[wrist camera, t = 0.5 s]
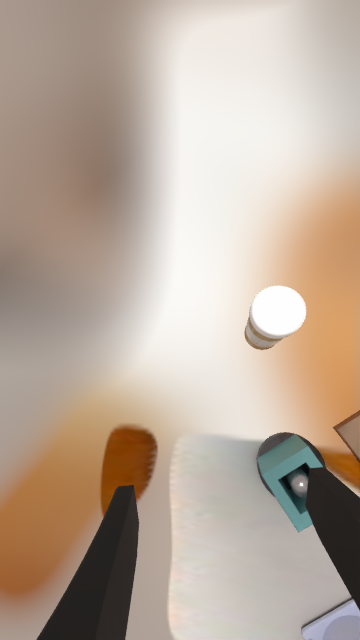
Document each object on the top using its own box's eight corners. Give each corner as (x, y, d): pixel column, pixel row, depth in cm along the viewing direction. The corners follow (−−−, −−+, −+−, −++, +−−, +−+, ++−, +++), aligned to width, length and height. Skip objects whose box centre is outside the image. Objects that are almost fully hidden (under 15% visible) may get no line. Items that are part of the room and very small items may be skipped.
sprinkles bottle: (285, 332, 32) (320, 306, 20) (263, 357, 32) (283, 347, 20) (258, 311, 34) (274, 273, 21) (236, 335, 34) (239, 312, 21)
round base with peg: (339, 480, 28) (363, 505, 22) (283, 514, 28) (295, 547, 23) (295, 420, 30) (308, 430, 25) (244, 452, 30) (247, 469, 25)
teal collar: (328, 479, 27) (348, 501, 23) (286, 504, 28) (298, 532, 23) (295, 433, 29) (307, 445, 24) (256, 458, 29) (261, 474, 24)
